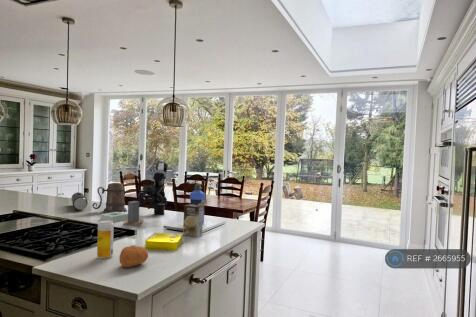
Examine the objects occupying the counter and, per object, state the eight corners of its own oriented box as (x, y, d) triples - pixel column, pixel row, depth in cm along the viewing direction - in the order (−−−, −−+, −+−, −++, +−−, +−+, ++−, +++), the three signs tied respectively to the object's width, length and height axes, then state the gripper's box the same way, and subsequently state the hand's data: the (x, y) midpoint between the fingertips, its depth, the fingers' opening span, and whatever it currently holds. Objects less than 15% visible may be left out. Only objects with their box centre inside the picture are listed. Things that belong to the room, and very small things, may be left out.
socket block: (116, 217, 212) (116, 211, 212) (128, 220, 206) (128, 213, 206) (100, 220, 202) (100, 214, 202) (112, 223, 196) (112, 216, 196)
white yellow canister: (100, 254, 139) (100, 219, 138) (114, 254, 139) (115, 220, 139) (94, 259, 132) (95, 223, 132) (110, 259, 133) (111, 223, 133)
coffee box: (182, 235, 175) (183, 205, 174) (187, 232, 181) (188, 203, 180) (197, 237, 172) (198, 206, 171) (202, 234, 178) (203, 205, 177)
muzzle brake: (84, 204, 256) (84, 191, 255) (87, 211, 231) (88, 196, 231) (70, 205, 251) (71, 192, 251) (72, 212, 227) (73, 197, 226)
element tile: (153, 241, 163) (153, 231, 163) (183, 242, 163) (183, 232, 162) (143, 250, 148) (143, 239, 148) (176, 251, 148) (176, 241, 147)
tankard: (125, 208, 245) (125, 182, 245) (129, 212, 231) (130, 184, 230) (91, 210, 234) (91, 182, 233) (93, 214, 219) (94, 185, 219)
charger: (134, 220, 199) (134, 200, 199) (138, 221, 197) (139, 201, 197) (127, 221, 195) (128, 201, 195) (132, 222, 193) (132, 202, 193)
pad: (142, 222, 202) (143, 219, 202) (140, 225, 192) (140, 223, 192) (126, 222, 200) (126, 219, 200) (123, 226, 191) (123, 223, 191)
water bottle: (186, 224, 201) (187, 183, 200) (193, 221, 209) (195, 182, 209) (199, 225, 197) (200, 184, 197) (206, 222, 206) (208, 183, 205)
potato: (115, 264, 128) (115, 245, 128) (143, 259, 135) (143, 241, 135) (123, 271, 121) (123, 251, 121) (151, 265, 128) (152, 246, 128)
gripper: (139, 179, 212) (125, 198, 203) (160, 181, 202) (146, 201, 193) (149, 190, 219) (136, 209, 210) (169, 192, 209) (156, 212, 200)
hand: (143, 207), depth 203 cm, fingers open, 9 cm apart
